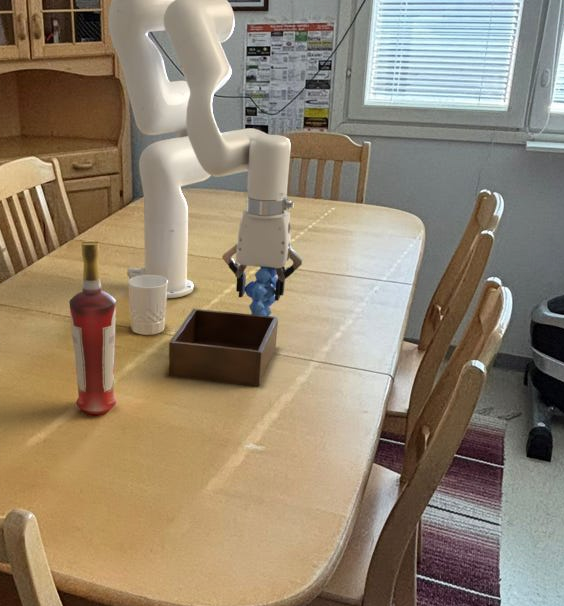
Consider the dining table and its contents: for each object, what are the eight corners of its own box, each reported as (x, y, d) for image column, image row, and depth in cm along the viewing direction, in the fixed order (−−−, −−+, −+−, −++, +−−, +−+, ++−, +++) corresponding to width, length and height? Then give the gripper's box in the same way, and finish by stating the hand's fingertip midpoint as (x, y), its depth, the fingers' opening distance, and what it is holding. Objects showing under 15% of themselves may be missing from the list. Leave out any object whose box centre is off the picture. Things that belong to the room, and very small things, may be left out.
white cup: (173, 325, 176) (173, 277, 171) (158, 338, 171) (158, 289, 165) (138, 319, 179) (137, 272, 174) (122, 333, 173) (121, 284, 168)
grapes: (251, 307, 181) (255, 250, 175) (282, 311, 179) (287, 254, 172) (232, 325, 173) (236, 266, 166) (264, 330, 170) (269, 271, 164)
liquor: (76, 399, 148) (68, 236, 133) (119, 399, 148) (115, 235, 133) (73, 418, 142) (63, 250, 127) (117, 418, 142) (113, 249, 127)
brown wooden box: (168, 375, 156) (169, 342, 152) (192, 340, 170) (193, 308, 166) (258, 386, 152) (261, 352, 148) (275, 349, 165) (278, 316, 162)
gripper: (314, 204, 164) (305, 294, 174) (225, 198, 169) (221, 287, 179) (308, 213, 158) (299, 307, 168) (217, 208, 163) (213, 299, 173)
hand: (259, 296), depth 173 cm, fingers closed on grapes, 6 cm apart
